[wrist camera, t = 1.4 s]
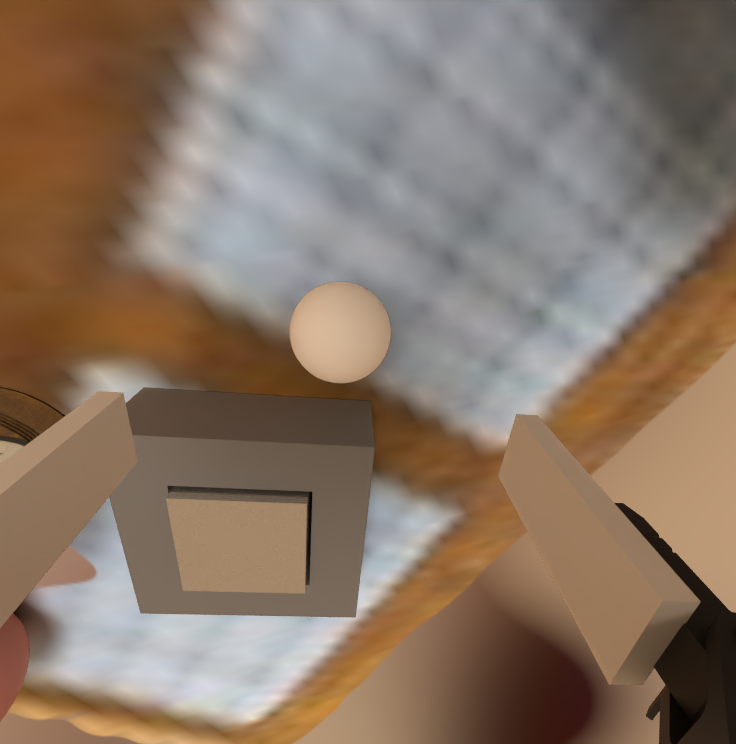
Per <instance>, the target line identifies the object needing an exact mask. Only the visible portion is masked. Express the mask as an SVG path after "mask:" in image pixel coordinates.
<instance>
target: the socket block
mask: <svg viewBox="0 0 736 744" xmlns="http://www.w3.org/2000/svg"><path fill="white" fill-rule="evenodd" d="M126 408H127V413H128V417H129V422H130V427H131V431H132V436H133V441H134V446H135V450H136V455H137V460H138V462H137V464H136V465H135V466H134V467H133V468H132V470H131V471H130V472H129V473H128V474H127V476H126V477H125V478H124V479H123V480H122V482H121V483H120V484H119V485H118V487H117V488H116V489H115V490H114V491H113V493H112V494H111V495H110V496H109V497H110V501H111V505H112V509H113V512H114V516H115V520H116V523H117V527H118V531H119V535H120V538H121V542H122V546H123V549H124V553H125V557H126V561H127V564H128V568H129V572H130V576H131V579H132V583H133V587H134V590H135V594H136V598H137V602H138V605H139V609H140V613H149V614H203V615H256V616H309V617H356V609H357V600H358V592H359V583H360V574H361V565H362V557H363V548H364V539H365V530H366V522H367V513H368V504H369V495H370V487H371V478H372V469H373V460H374V452H375V442H374V430H373V418H372V407H371V401H363V400H346V399H329V398H312V397H295V396H278V395H261V394H244V393H227V392H210V391H193V390H176V389H159V388H143V389H142V390H140V391H139V392H138V393H137V394H136V395H135V396H134V397H133V398H131V399H130V400H129V401H128V402H127V403H126ZM173 486H187V487H212V488H236V489H260V490H284V491H308V492H312V522H311V524H310V537H309V565H308V573H307V581H306V589H305V594H300V593H256V592H213V591H183V588H182V583H181V577H180V572H179V567H178V561H177V556H176V551H175V545H174V540H173V534H172V529H171V524H170V518H169V513H168V508H167V502H166V497H167V496H168V494H169V493H170V491H171V489H172V488H173Z"/></svg>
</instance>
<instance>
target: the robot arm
mask: <svg viewBox="0 0 736 744" xmlns="http://www.w3.org/2000/svg"><path fill="white" fill-rule="evenodd" d="M137 462H138V460H137V455H136V450H135V446H134V441H133V436H132V431H131V427H130V422H129V417H128V413H127V408H126V403H125V399H124V394H123V393H117V392H99V391H98V392H97V393H96V394H94V395H93V396H92V397H90V398H89V399H88V400H86V401H85V402H84V403H82V404H81V405H80V406H78V407H77V408H76V409H74V410H73V411H71V412H70V413H69V414H67V415H66V416H65V417H63V418H62V419H61V420H59V421H58V422H57V423H55V424H54V425H53V426H51V427H50V428H49V429H47V430H46V431H45V432H43V433H42V434H41V435H39V436H38V437H36V438H35V439H34V440H32V441H31V442H30V443H28V444H27V445H26V446H24V447H23V448H22V449H20V450H19V451H18V452H16V453H15V454H14V455H12V456H11V457H10V458H8V459H7V460H5V461H4V462H3V463H1V464H0V628H1V627H2V626H3V624H4V623H5V622H6V621H7V620H8V618H9V617H10V616H11V615H12V613H13V612H14V611H15V610H16V609H17V607H18V606H19V605H20V604H21V603H22V601H23V600H24V599H25V598H26V597H27V595H28V594H29V593H30V592H31V591H32V589H33V588H34V587H35V586H36V584H37V583H38V582H39V581H40V580H41V578H42V577H43V576H44V575H45V573H46V572H47V571H48V570H49V569H50V567H51V566H52V565H53V564H54V563H55V561H56V560H57V559H58V558H59V556H60V555H61V554H62V553H63V552H64V551H65V549H66V548H67V547H68V546H69V545H70V543H71V542H72V541H73V540H74V539H75V537H76V536H77V535H78V534H79V532H80V531H81V530H82V529H83V528H84V526H85V525H86V524H87V523H88V522H89V520H90V519H91V518H92V517H93V516H94V514H95V513H96V512H97V511H98V509H99V508H100V507H101V506H102V505H103V503H104V502H105V501H106V500H107V499H108V497H109V496H110V495H111V494H112V493H113V491H114V490H115V489H116V488H117V487H118V485H119V484H120V483H121V482H122V480H123V479H124V478H125V477H126V476H127V474H128V473H129V472H130V471H131V470H132V468H133V467H134V466H135V465H136V464H137ZM498 478H499V480H500V481H501V483H502V485H503V487H504V489H505V491H506V493H507V494H508V496H509V498H510V500H511V502H512V504H513V506H514V508H515V509H516V511H517V513H518V515H519V517H520V519H521V521H522V522H523V524H524V526H525V528H526V530H527V532H528V534H529V535H530V537H531V539H532V541H533V543H534V545H535V547H536V549H537V550H538V552H539V554H540V556H541V558H542V560H543V561H544V563H545V565H546V567H547V569H548V571H549V573H550V575H551V577H552V578H553V580H554V582H555V584H556V586H557V588H558V589H559V592H560V593H561V595H562V597H563V599H564V601H565V603H566V605H567V606H568V608H569V610H570V612H571V614H572V616H573V618H574V620H575V621H576V623H577V625H578V627H579V629H580V631H581V633H582V634H583V636H584V638H585V640H586V642H587V644H588V646H589V648H590V649H591V651H592V653H593V655H594V657H595V659H596V660H597V662H598V664H599V666H600V668H601V670H602V672H603V674H604V676H605V677H606V679H607V681H608V683H609V684H610V685H611V684H612V685H615V684H618V685H621V684H622V685H624V684H625V685H628V684H629V685H630V684H631V685H641V684H643V683H644V682H645V681H646V679H647V678H648V676H649V675H650V673H651V672H652V671H653V669H654V668H655V669H656V671H657V672H658V674H659V675H660V677H661V678H662V680H663V681H664V683H665V684H666V685H665V687H664V688H663V689H662V691H661V692H660V694H659V695H658V696H657V698H656V699H655V700H654V701H653V703H652V704H651V705H650V707H649V709H648V712H647V714H646V717H648V718H649V719H651V720H653V719H654V717H655V716H656V715H657V713H658V712H659V711H660V730H659V732H660V733H659V744H736V613H733V612H731V611H729V610H728V609H727V608H726V606H725V605H724V604H723V603H722V602H721V601H720V600H719V599H718V598H717V597H716V596H715V595H714V594H713V593H712V591H711V590H710V589H709V588H708V587H707V586H706V585H705V584H704V583H703V582H702V581H701V580H700V578H699V577H698V576H697V575H696V574H695V573H694V572H693V571H692V570H691V569H690V568H689V567H688V566H687V564H686V563H685V562H684V561H683V560H682V559H681V558H680V557H679V556H678V555H677V554H676V553H673V552H672V548H671V547H670V546H669V545H668V544H667V543H666V542H665V541H664V540H663V539H662V538H659V535H658V533H657V532H656V531H655V530H654V529H653V528H652V527H651V526H650V525H649V523H648V522H647V521H646V520H645V519H644V518H643V517H641V516H640V515H638V514H637V513H636V512H634V511H633V510H632V509H630V508H629V507H627V506H626V505H625V504H623V503H614V502H613V501H612V500H611V499H610V498H609V496H608V495H607V494H606V493H605V492H604V491H603V490H602V489H601V487H600V486H599V485H598V484H597V483H596V482H595V481H594V479H593V478H592V477H591V476H590V475H589V474H588V473H587V471H586V470H585V469H584V468H583V467H582V466H581V465H580V463H579V462H578V461H577V460H576V459H575V458H574V457H573V455H572V454H571V453H570V452H569V451H568V450H567V449H566V447H565V446H564V445H563V444H562V443H561V442H560V441H559V439H558V438H557V437H556V436H555V435H554V434H553V433H552V431H551V430H550V429H549V428H548V427H547V426H546V425H545V423H544V422H543V421H542V420H541V419H540V418H539V417H538V415H519V414H516V417H515V421H514V424H513V428H512V431H511V434H510V438H509V441H508V445H507V448H506V451H505V455H504V458H503V462H502V465H501V469H500V472H499V475H498Z"/></svg>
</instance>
